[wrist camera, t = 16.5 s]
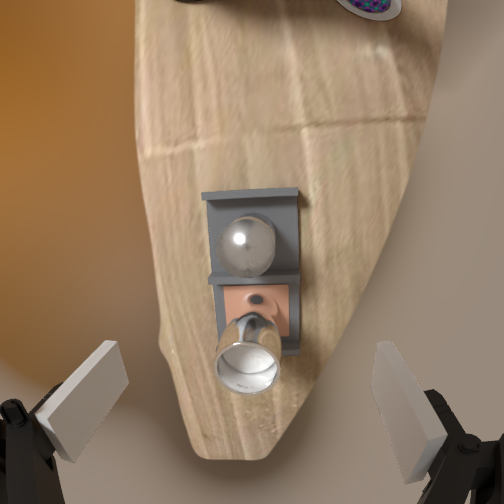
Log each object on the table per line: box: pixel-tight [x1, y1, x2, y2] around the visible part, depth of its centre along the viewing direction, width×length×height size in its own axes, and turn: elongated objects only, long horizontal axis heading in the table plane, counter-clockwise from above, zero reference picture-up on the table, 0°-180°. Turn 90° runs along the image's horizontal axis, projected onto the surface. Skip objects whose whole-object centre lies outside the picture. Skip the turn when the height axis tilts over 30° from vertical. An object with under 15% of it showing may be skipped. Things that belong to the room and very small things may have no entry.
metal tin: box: [216, 212, 276, 278], centre depth 36 cm, size 6×6×10 cm
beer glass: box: [214, 292, 282, 396], centre depth 35 cm, size 7×7×15 cm
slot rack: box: [201, 187, 300, 356], centre depth 41 cm, size 23×12×3 cm, turn 3°
